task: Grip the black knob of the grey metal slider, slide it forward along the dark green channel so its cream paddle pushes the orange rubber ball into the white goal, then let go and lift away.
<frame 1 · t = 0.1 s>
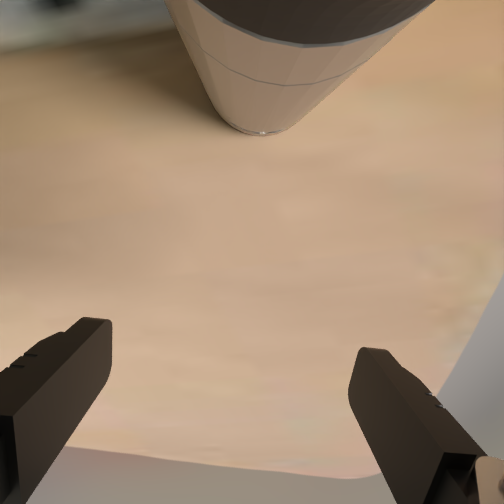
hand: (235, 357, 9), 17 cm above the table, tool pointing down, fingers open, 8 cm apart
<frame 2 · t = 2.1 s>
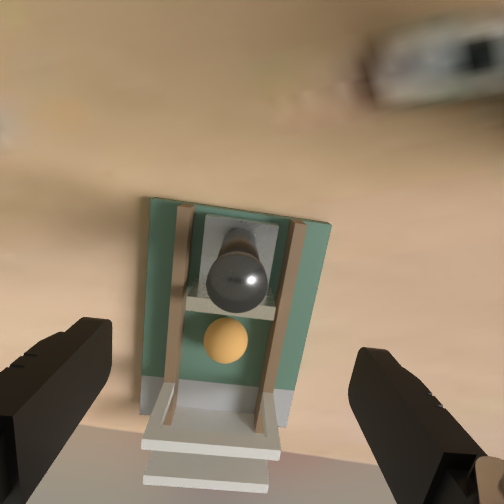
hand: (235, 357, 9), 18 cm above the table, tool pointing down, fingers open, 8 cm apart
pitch: (227, 320, 28), on the table
ball: (225, 339, 25), point 3 cm above the table, touching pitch
slider: (235, 278, 19), point 7 cm above the table, slide at 0.0 cm
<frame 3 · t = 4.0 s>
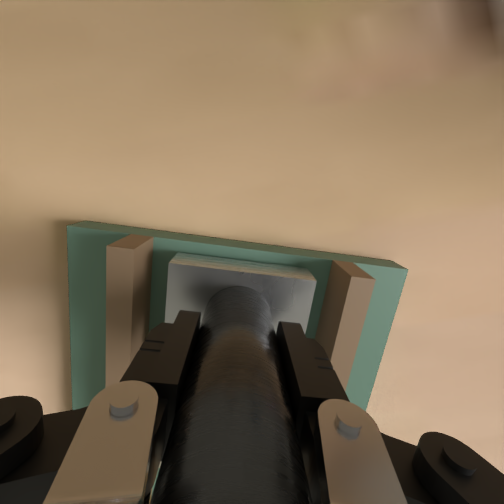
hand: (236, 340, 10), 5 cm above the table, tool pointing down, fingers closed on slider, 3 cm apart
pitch: (220, 419, 17), on the table
slider: (229, 421, 8), point 7 cm above the table, slide at 0.0 cm, touching gripper
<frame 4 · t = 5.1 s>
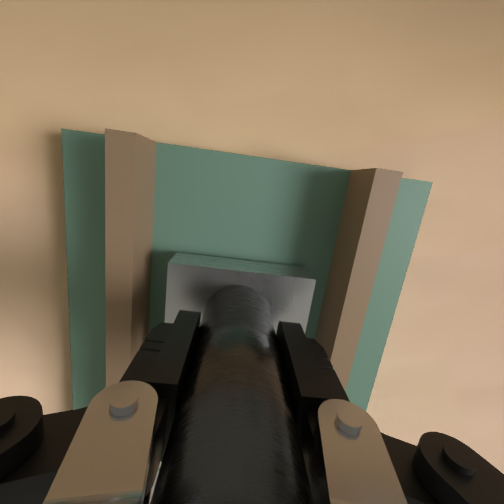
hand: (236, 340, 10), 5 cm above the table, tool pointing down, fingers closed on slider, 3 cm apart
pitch: (228, 363, 16), on the table
slider: (229, 420, 8), point 7 cm above the table, slide at 4.1 cm, touching gripper
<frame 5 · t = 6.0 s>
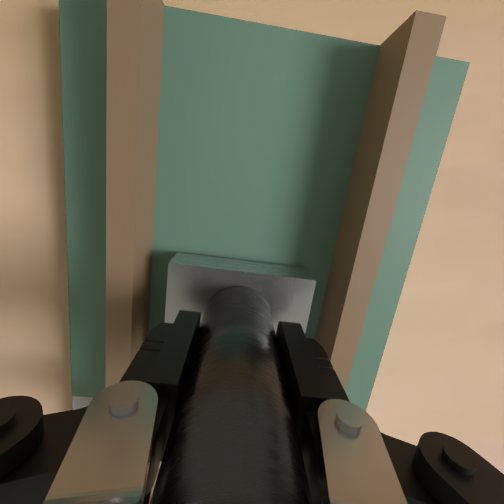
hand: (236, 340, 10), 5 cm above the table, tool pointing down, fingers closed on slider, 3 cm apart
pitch: (238, 288, 15), on the table
slider: (229, 420, 8), point 7 cm above the table, slide at 8.9 cm, touching gripper
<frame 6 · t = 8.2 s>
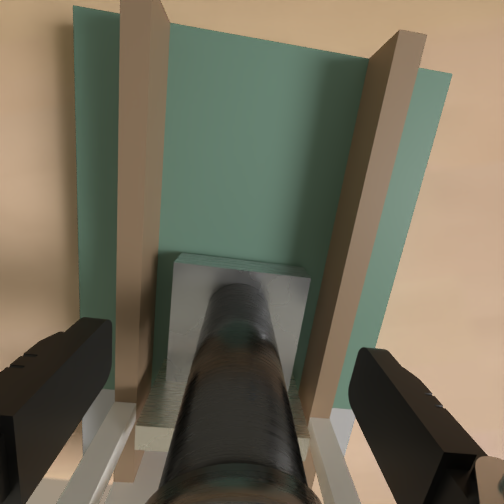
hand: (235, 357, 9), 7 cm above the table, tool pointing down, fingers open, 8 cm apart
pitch: (238, 285, 16), on the table
slider: (231, 404, 9), point 7 cm above the table, slide at 9.0 cm
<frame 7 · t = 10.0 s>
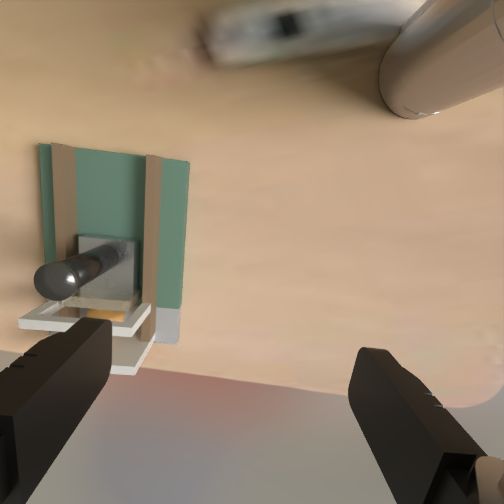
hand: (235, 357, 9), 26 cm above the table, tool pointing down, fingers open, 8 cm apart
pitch: (119, 250, 34), on the table
ball: (106, 315, 32), point 3 cm above the table, tilted 155°, touching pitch
slider: (89, 280, 27), point 7 cm above the table, slide at 9.0 cm
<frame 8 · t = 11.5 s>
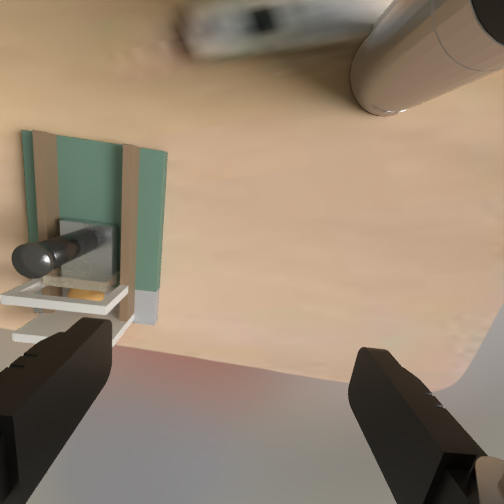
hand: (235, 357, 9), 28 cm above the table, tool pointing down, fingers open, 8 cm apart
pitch: (100, 234, 36), on the table
ball: (86, 296, 34), point 3 cm above the table, tilted 155°, touching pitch
slider: (67, 261, 29), point 7 cm above the table, slide at 9.0 cm
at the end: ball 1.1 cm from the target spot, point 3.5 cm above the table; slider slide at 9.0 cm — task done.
